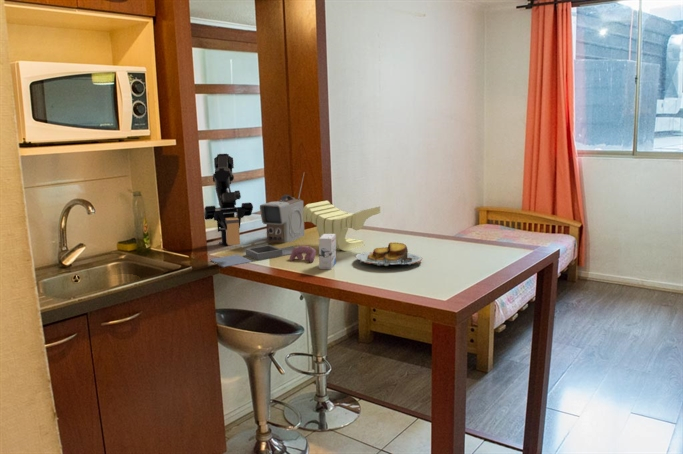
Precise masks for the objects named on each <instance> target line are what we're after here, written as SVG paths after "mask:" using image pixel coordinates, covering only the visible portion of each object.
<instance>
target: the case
mask: <svg viewBox="0 0 683 454" xmlns="http://www.w3.org/2000/svg"><path fill="white" fill-rule="evenodd" d="M295 247H296V246H286V247H279V248H278V247H276V246H273V245H271V244H267V245H260V246H256V247H255V246H253V247H249V248H248V247H247V248H245V256H247V257H249V258H251V259H253V260H255V261H263V260H269V259H275V258H279V257H286V256H291V253H292V251H293V249H294V248H295Z"/></svg>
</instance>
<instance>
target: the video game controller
mask: <svg viewBox="0 0 683 454" xmlns="http://www.w3.org/2000/svg"><path fill="white" fill-rule="evenodd" d="M294 247H295V248H294V249H293V251H292V253H291V255H289V261H290V262H292V261H294V260H295V259H296V258H297V260H305V261H309V263H310V264H312V263H314V260H315V258H316V255H317V250H316V249H315V248H314V247H311V246H309V245H300V246H294ZM303 255H304V256H303Z"/></svg>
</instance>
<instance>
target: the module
mask: <svg viewBox="0 0 683 454" xmlns="http://www.w3.org/2000/svg"><path fill="white" fill-rule="evenodd" d="M225 222H226V224H227V230H226V242H227V244H228V245H227V246H236V245H241V239H240V228H239V219H238V218H237V217H236V216H235V217H233V218H225Z"/></svg>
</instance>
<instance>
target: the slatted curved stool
mask: <svg viewBox="0 0 683 454" xmlns="http://www.w3.org/2000/svg"><path fill="white" fill-rule="evenodd" d="M303 207H304V209H303V222H304V223H306V222H307V223H312V224H313V225H314V226H316V229H317V234H318V237H319V238H320V237H321V236H322V235H323V234H336V250H338V251H345V252H347V251H350V250H354V249H356V248H357V249H358V248H361V247H363V246H365V245H366V244H365V242H364V240H361V239H360V240H359V239H354V238H348V237H346V235H347V233H348V230H349V229H353V230H355V231H359V230H363V229H364V225H365V222H366V221H367V219H370V217H372V216H375V215H379V214H381V206H376V207H372V208H369V209H363V210H360V211H357V212H355V213H349V212H346V211H344V210H342V209H340V208H338V207H336V206H335V205H333V204H331V202H330V201H329V200H323V201H318V202H312V203H307V204H306V205H305V206H303ZM319 238H318V239H319Z"/></svg>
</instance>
